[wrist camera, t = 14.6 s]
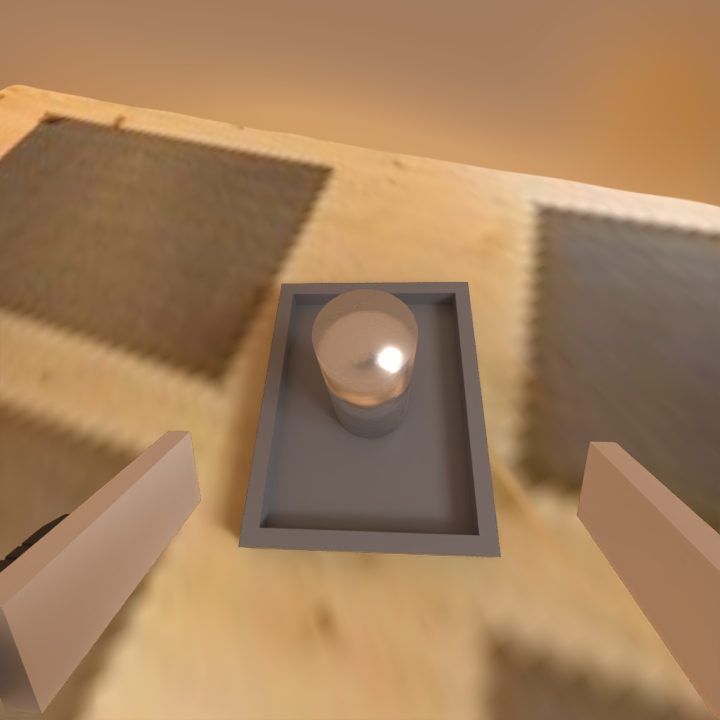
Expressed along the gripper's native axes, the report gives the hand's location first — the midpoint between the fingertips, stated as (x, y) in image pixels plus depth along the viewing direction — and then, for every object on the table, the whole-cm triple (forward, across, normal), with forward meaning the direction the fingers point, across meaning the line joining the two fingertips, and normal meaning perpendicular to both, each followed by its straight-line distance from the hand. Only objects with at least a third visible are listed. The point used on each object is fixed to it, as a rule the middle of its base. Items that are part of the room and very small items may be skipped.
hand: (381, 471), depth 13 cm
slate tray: (+18, -1, -6) cm, 19 cm away
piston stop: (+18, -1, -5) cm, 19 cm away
